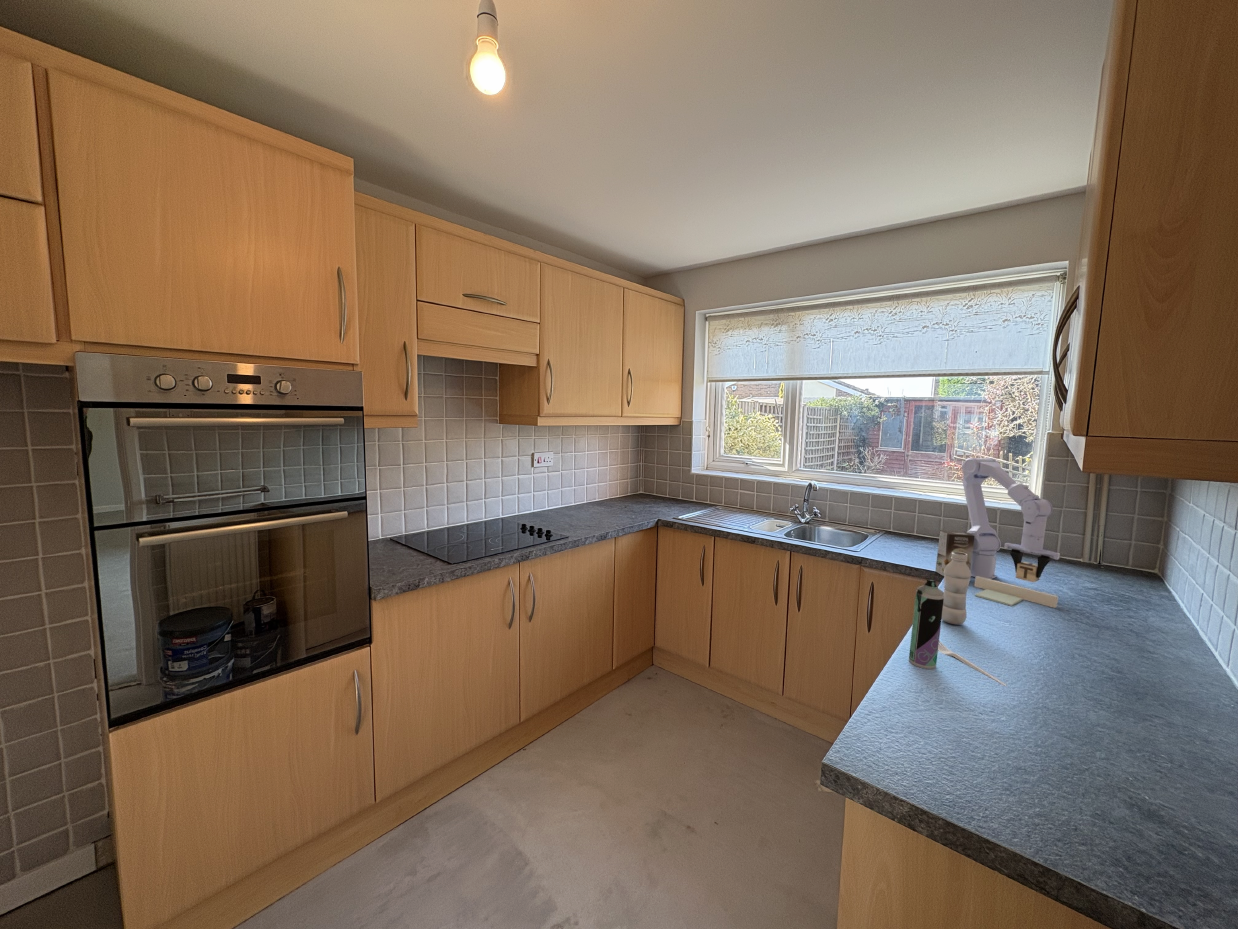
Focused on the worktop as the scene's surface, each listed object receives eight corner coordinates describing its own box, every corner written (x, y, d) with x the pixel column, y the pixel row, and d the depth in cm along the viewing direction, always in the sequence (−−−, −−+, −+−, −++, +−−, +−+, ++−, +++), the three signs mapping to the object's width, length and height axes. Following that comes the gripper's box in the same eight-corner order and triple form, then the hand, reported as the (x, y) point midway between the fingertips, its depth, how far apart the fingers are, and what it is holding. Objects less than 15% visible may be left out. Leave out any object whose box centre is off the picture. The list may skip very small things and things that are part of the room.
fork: (1000, 690, 109) (1001, 682, 109) (926, 645, 128) (927, 638, 128) (1012, 689, 110) (1014, 681, 109) (937, 644, 129) (938, 637, 129)
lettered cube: (1020, 575, 175) (1022, 561, 174) (1038, 580, 171) (1041, 565, 170) (1015, 578, 172) (1017, 563, 171) (1033, 582, 168) (1035, 567, 167)
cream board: (976, 585, 177) (977, 576, 177) (1056, 607, 159) (1058, 596, 159) (974, 586, 176) (975, 576, 176) (1055, 607, 158) (1056, 597, 158)
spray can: (926, 671, 114) (936, 585, 112) (903, 660, 119) (912, 577, 117) (941, 666, 117) (950, 582, 115) (917, 656, 122) (926, 575, 119)
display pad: (986, 590, 172) (986, 588, 172) (1022, 600, 164) (1022, 598, 164) (974, 595, 166) (974, 594, 166) (1011, 606, 158) (1011, 604, 158)
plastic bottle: (967, 623, 143) (975, 554, 141) (963, 629, 138) (971, 558, 136) (941, 616, 148) (948, 549, 146) (935, 622, 143) (943, 553, 141)
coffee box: (943, 576, 186) (948, 533, 184) (934, 571, 192) (939, 529, 191) (970, 578, 185) (975, 535, 183) (960, 573, 191) (965, 531, 190)
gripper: (1002, 531, 173) (997, 570, 175) (1057, 541, 161) (1051, 583, 163) (1010, 529, 177) (1005, 567, 179) (1063, 539, 165) (1058, 579, 167)
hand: (1027, 574), depth 171 cm, fingers closed on lettered cube, 5 cm apart
